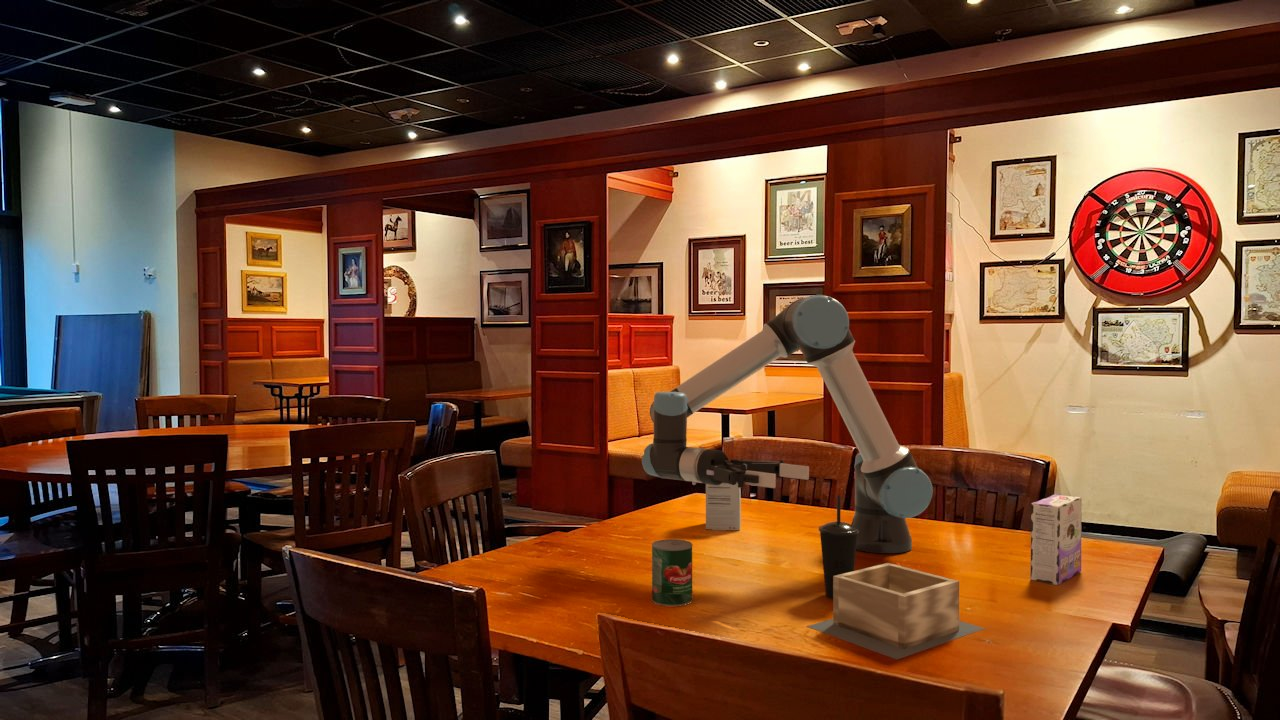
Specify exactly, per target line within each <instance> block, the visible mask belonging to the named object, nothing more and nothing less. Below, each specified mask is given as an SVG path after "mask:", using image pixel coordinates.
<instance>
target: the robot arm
mask: <svg viewBox="0 0 1280 720" xmlns="http://www.w3.org/2000/svg"><path fill="white" fill-rule="evenodd" d="M855 343H856V340H855V338H854V335H853V334H852V331H851V330H850V317H849V314H848V312H847V310H846V308H845V307H844V305H843V304H842V303H841V302H839V300H837V299H835V298H833V297H831V296H827V295H824V294H815V295H814V294H813V295H809V296H806V297H802V298H799V299H796V300H795V301H792V302H791V303H790V304H788V305H787V306H786V307H785V308H784V309H782V310H781V311H780V312H779V313H778V314H777V315H776V316H774V317H773V318H772V319H770V320H768V321H766V322H765V323H764V324H763V327H762V330H761V331H760V332H758V333H757V334H755V335H753V336H752V337H750V338H749V339H747V340H746V341H745V342H743V343H742V344H740V345H737V347H735V348H734V349H732V350H731V351H729V352H728V353H726V354H724V355H723V356H722V357H720V358H719V359H717V360H715V361H714V362H713V363H711V364H709V365H708V366H706V367H705V368H704V369H702V370H700V371H698V372H697V373H696V374H694V375H693V376H691V377H690V378H688V379H686V380H685V381H684V382H682V383H681V384H679V385H678V386H676V387H675V388H674V389H671V390H670V391H658V392H656V393H655V394H654V397H653V402H652V403H651V405H650V407H649V417H650V418H651V419H650V420H651V421H652V423H653V440H652V443H650V444H648V445H647V446H646V447H645V448H644V450H643V455H642V456H641V465H642V468H643V470H644V472H645V473H646V474H647V475H649V476H651V477H652V476H653V477H656V478H661V479H667V480H676V481H677V480H678V481H684V482H691V484H692V485H693V486H695V485H697V483H699V484H705V485H706V484H710V485H720V484H722V483H723V482H725V483H728V484H732V485H736V483H738V487H739V488H742V489H743V488H745V485H749V486H756V487H762V488H770V489H776V486H777V484H776V483H777V482H776V481H777V479H776V478H777V476H779V477H783V478H790V479H797V480H799V479H800V480H807V481H808V480H809V479H810V466H809V465H802V464H792V463H785V462H784V460H783V459H779V461H768V460H764V461H763V460H748V459H747V460H746V459H742V458H741V459H737V458H731V459H730V460H729V458H728V456H727V454H726V453H725V452H724V451H723V450H719V449H711V448H710V449H708V448H704V447H692V446H687V442H688V439H687V429H688V426H687V425H688V421H687V420H688V418H689V417H691V416H692V415H693V414H695V413H697V411H699V410H701V409H702V408H704V407H706V406H707V405H708V404H710V403H711V402H713V401H714V400H716V399H717V398H719V397H721V396H722V395H723V394H726V393H727V392H728V391H729V390H731V389H733V388H734V387H737V386H738V385H739V384H741V383H742V382H743V381H745V380H747V379H748V378H749V377H751V376H753V375H754V374H756V373H757V372H759V371H760V370H762V369H763V368H765V367H766V366H768V365H770V364H771V363H773V362H774V361H776V360H777V359H779V358H788V357H789V356H791V355H792V354H794V353H796V352H798V351H801V353H802V355H803V357H804V359H805V361H806V362H807V363H806V364H807V365H811V366H814V367H815V368H817V370H818V372H819V374H820V376H821V378H822V380H823V382H824V383H825V386H826V388H827V390H828V392H829V394H830V396H831V398H832V401H833V402H834V404H835V405H836V407H837V410H838V412H839V414H840V416H841V418H842V419H843V420H842V421H843V422H844V424H845V426H846V428H847V430H848V432H849V434H850V436H851V437H852V440H853V442H854V444H855V446H856V448H857V450H858V453H857V454H856V455H855V460H854V466H853V467H854V515H853V518H852V521H851V525H852V526H854V527H857V528H858V529H859V533H857V543H856V551H861V552H867V553H872V554H873V553H876V554H900V553H906V552H910V551H911V550H912V549H913V539H912V536H911V534H910V531H909V529H910V528H909V527H908V524H907V521H906V519H910V518H915V517H917V516H919V515H921V514H922V513H923V512H925V511H926V509H927V508H928V506H929V505H930V503H931V500H932V498H933V489H934V488H933V484H932V481H931V479H930V477H929V476H928V475H927V473H926V472H924V471H923V469H920V468H919V467H918V465H917V463H916V461H915V459H914V457H913V455H912V453H911V451H910V449H909V448H908V447H907V446H903V445H901V444H899V442H898V440H897V439H896V435H895V434H894V433H893V430H892V428H891V426H890V423H889V422H888V420H887V418H886V416H885V414H884V412H883V410H882V407H881V406H880V404H879V402H878V400H877V398H876V395H875V394H874V391H873V390H872V387H871V386H870V384H869V382H868V380H867V378H866V376H865V374H864V372H863V369H862V368H861V365H860V364H859V361H858V360H857V358H856V356H855V354H854V351H853V348H854V346H855Z"/></svg>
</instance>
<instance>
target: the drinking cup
mask: <svg viewBox="0 0 1280 720" xmlns="http://www.w3.org/2000/svg"><path fill="white" fill-rule="evenodd" d="M841 497H842V496H841V495H836V521H831V522H827V523H824V524H823V525H820V526H819V527H818V531H819V533H820V545H821V556H822V557H821V558H822V567H823V568H822V569H823V577H824V579H823V581H824V591H825V597H826V598H827V599H830V600H833V576H836V575H840V574H844V573H848V572H852V571H855V563H856V562H855V561H856V555H857V554H856V552H857V550H856V543H857V533H859V529H858V528H857V527H854V526H852V525H851V524H852V523H851V524H850V523H849V522H845V521H841V511H842V510H841V506H842V505H841Z"/></svg>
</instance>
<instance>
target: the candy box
mask: <svg viewBox="0 0 1280 720" xmlns="http://www.w3.org/2000/svg"><path fill="white" fill-rule="evenodd" d="M1030 504H1031V505H1030V509H1031V511H1030V580H1031V581H1035V582H1040V583H1045V584H1050V585H1054V586H1059V585H1061V584H1062V583H1064V582H1066V581H1068V580H1069V579H1071V578H1073V577H1075V576H1076V575H1077V574H1080V573H1082V497H1081V496H1072V495H1063V494H1052V495H1050V496H1048V497H1045V498H1042V499H1040V500H1037V501H1034V502H1031V503H1030Z"/></svg>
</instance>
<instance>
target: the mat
mask: <svg viewBox="0 0 1280 720" xmlns="http://www.w3.org/2000/svg"><path fill="white" fill-rule="evenodd" d="M806 627H807V628H809V629H813V630H815V631H818V632H820V633H823V634H826V635H828V636H832V637H834V638H836V639H839V640H843V641H844V642H848V643H851V644H854V645H856V646H859V647H862V648H863V649H867V650H870V651H873V652H875V653H878V654H880V655H883V656H886V657H887V658H888V657H889V658H892V659H894V660H900V659H902V658H905V657H908V656H912V655H914V654H917V653H920V652H923V651H925V650H928V649H932V648H934V647H936V646H941V645H943V644H946V643H948V642H952V641H954V640H957V639H960V638H963V637H966V636H968V635H971V634H974V633H977V632H979V631H982V630H985V629H986V628H985V627H981V626H978V625H976V624H972V623H969V622H968V623H967V622H964V621H961V620H959V631H956V632H953V633H950V634H947V635H944V636H941V637H939V638H936V639H933V640H930V641H927V642H924V643H921V644H918V645H915V646H912V647H909V648H906V649H902V648H900V647H897V646H894V645H891V644H888V643H885V642H882V641H880V640H877V639H874V638H871V637H868V636H865V635H862V634H860V633H857V632H854V631H851V630H848V629H845V628H843V627H840V626H837V625H834V624H833V618H830V619H827V620H823V621H819V622H817V623H813V624H810V625H807V626H806Z"/></svg>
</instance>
